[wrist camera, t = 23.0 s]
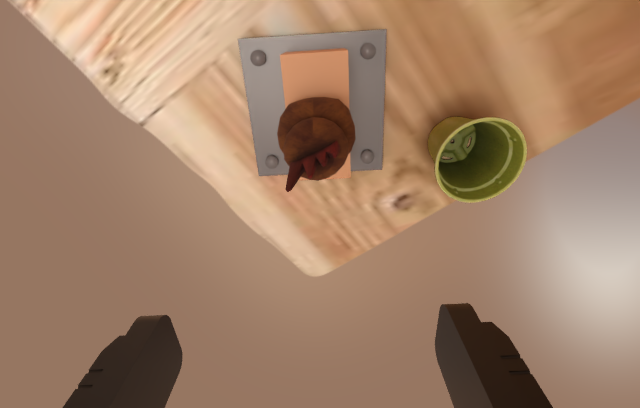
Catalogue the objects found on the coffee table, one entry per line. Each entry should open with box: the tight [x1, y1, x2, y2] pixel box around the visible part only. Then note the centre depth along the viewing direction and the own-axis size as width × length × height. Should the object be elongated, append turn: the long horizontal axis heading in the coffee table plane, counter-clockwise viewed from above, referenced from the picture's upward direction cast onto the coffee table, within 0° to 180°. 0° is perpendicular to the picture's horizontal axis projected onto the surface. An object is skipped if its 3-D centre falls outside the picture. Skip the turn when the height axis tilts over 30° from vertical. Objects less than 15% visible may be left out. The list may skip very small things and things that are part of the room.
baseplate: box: [238, 29, 386, 176], centre depth 39 cm, size 16×16×2 cm
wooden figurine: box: [277, 97, 356, 192], centre depth 27 cm, size 7×6×15 cm
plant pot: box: [428, 117, 527, 202], centre depth 38 cm, size 9×9×9 cm
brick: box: [280, 48, 351, 180], centre depth 36 cm, size 6×13×6 cm, turn 4°
